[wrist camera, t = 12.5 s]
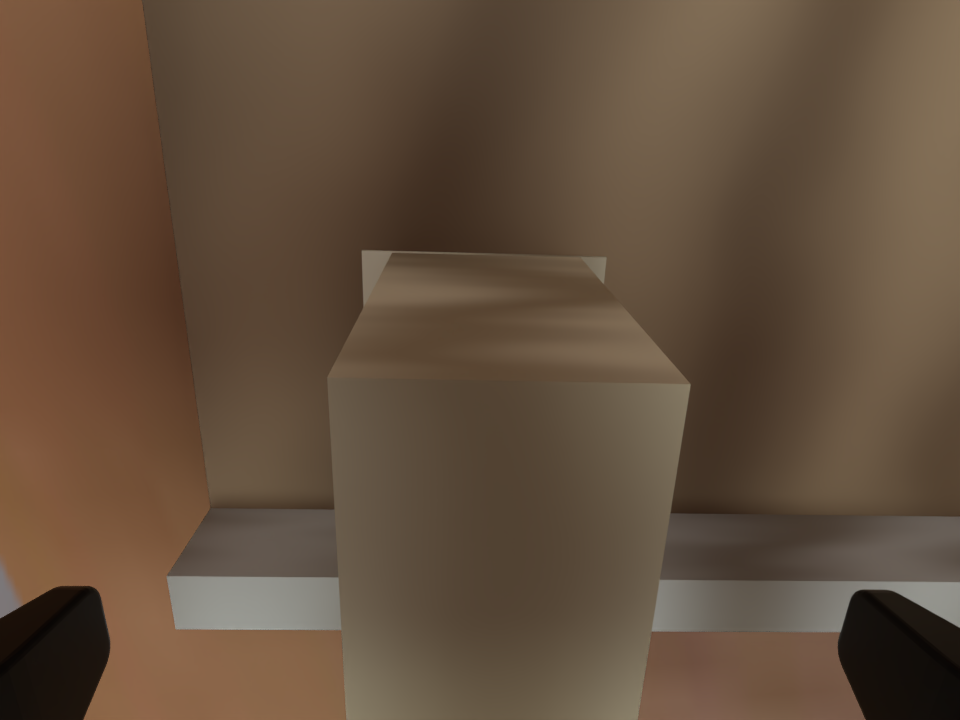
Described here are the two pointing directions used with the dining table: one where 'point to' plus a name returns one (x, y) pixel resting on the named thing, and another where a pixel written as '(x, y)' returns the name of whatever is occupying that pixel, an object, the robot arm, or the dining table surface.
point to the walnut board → (607, 252)
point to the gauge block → (499, 492)
